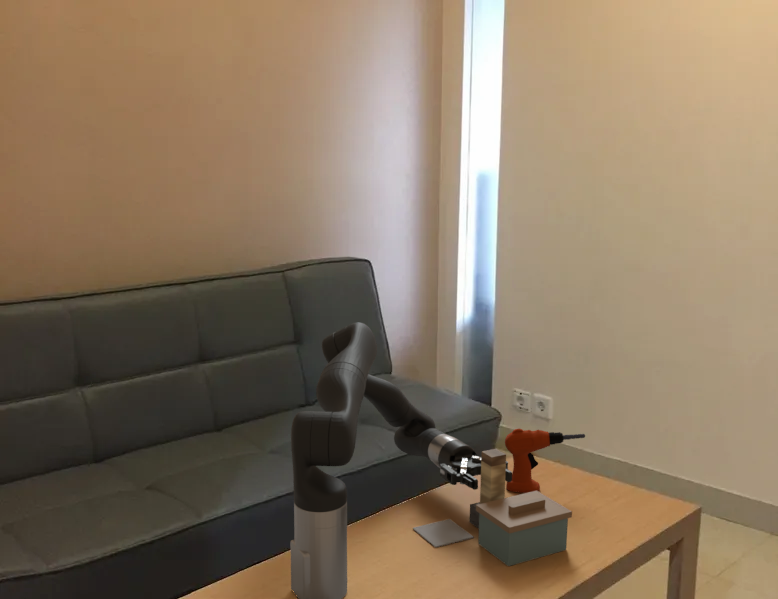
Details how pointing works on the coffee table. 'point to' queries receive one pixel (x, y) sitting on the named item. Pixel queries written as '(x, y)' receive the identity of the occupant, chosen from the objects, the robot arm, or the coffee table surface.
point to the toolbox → (523, 527)
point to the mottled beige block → (492, 475)
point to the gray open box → (474, 515)
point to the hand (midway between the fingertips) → (493, 481)
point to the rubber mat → (442, 533)
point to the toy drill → (529, 455)
